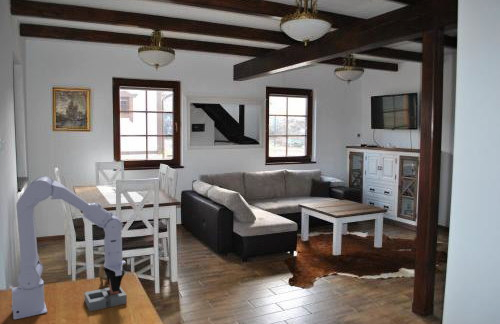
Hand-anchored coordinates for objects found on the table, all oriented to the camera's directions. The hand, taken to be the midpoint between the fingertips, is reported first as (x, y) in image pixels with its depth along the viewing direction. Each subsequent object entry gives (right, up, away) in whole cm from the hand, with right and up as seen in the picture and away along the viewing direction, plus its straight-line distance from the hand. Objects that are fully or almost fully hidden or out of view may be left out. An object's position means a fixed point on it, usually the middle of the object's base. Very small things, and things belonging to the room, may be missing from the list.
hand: (114, 288), depth 144 cm
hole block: (-3, -4, -1) cm, 5 cm away
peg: (0, -4, +1) cm, 4 cm away
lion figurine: (-7, -3, +15) cm, 17 cm away
